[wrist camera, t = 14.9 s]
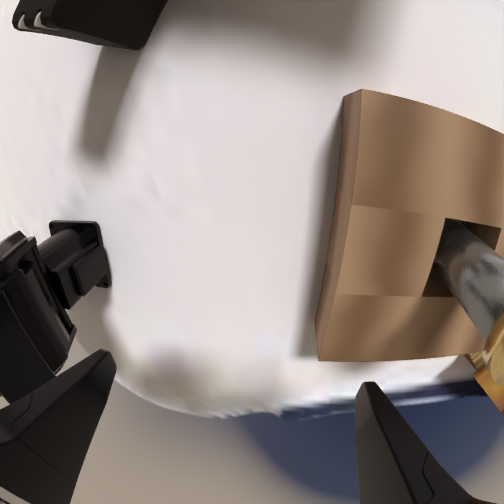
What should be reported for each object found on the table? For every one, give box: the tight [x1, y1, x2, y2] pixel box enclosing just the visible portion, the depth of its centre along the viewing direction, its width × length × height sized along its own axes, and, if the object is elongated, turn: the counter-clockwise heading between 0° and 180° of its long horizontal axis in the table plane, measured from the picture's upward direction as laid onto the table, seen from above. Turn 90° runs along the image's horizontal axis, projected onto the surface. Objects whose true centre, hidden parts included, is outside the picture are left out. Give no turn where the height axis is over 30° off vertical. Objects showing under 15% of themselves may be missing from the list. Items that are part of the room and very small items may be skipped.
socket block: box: [315, 89, 504, 362], centre depth 16 cm, size 18×18×4 cm
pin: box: [432, 218, 504, 385], centre depth 13 cm, size 5×5×13 cm
